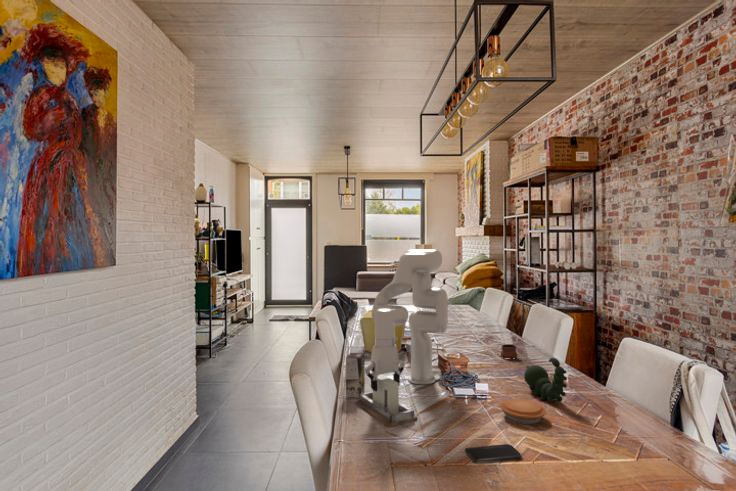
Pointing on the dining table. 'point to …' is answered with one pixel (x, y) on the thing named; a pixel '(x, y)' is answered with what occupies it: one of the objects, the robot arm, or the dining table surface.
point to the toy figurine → (546, 381)
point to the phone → (493, 453)
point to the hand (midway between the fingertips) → (385, 387)
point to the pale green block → (387, 394)
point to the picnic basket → (369, 332)
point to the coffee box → (355, 374)
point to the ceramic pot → (508, 351)
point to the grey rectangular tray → (385, 411)
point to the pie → (522, 411)
